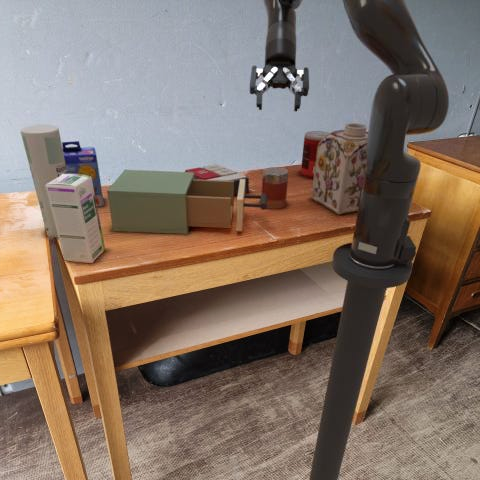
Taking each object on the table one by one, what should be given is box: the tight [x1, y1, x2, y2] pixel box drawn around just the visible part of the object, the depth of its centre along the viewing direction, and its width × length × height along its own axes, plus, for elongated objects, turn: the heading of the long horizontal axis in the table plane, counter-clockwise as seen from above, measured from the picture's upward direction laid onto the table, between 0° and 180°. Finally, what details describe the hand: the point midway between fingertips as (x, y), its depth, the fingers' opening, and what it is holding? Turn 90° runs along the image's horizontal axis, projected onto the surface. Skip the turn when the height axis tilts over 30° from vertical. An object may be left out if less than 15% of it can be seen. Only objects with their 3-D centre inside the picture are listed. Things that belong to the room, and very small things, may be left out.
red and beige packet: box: [184, 163, 250, 196], centre depth 114 cm, size 11×4×15 cm
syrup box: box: [45, 174, 106, 264], centre depth 79 cm, size 6×6×14 cm
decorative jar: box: [311, 122, 368, 216], centre depth 103 cm, size 12×12×18 cm
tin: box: [261, 166, 289, 210], centre depth 104 cm, size 6×6×8 cm
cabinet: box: [106, 169, 195, 235], centre depth 95 cm, size 16×14×9 cm
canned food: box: [300, 130, 331, 180], centre depth 123 cm, size 8×8×11 cm
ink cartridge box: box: [61, 140, 105, 208], centre depth 100 cm, size 10×6×14 cm, turn 108°
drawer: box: [186, 179, 268, 232], centre depth 95 cm, size 19×12×7 cm, turn 87°
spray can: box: [20, 124, 67, 239], centre depth 86 cm, size 6×6×20 cm
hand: (278, 108), depth 106 cm, fingers open, 8 cm apart
